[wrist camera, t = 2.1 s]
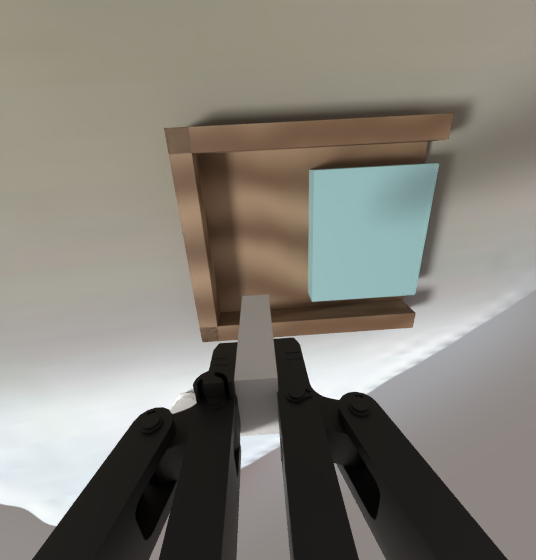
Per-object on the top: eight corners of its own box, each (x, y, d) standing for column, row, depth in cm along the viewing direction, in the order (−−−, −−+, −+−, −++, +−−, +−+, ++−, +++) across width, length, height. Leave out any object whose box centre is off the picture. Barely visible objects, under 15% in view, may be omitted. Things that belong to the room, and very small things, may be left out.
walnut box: (176, 132, 27) (164, 128, 23) (426, 119, 27) (453, 113, 23) (207, 323, 35) (202, 342, 32) (396, 310, 36) (412, 327, 32)
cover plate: (309, 169, 28) (314, 170, 25) (424, 163, 28) (439, 163, 26) (308, 292, 33) (312, 301, 31) (404, 285, 34) (415, 294, 31)
